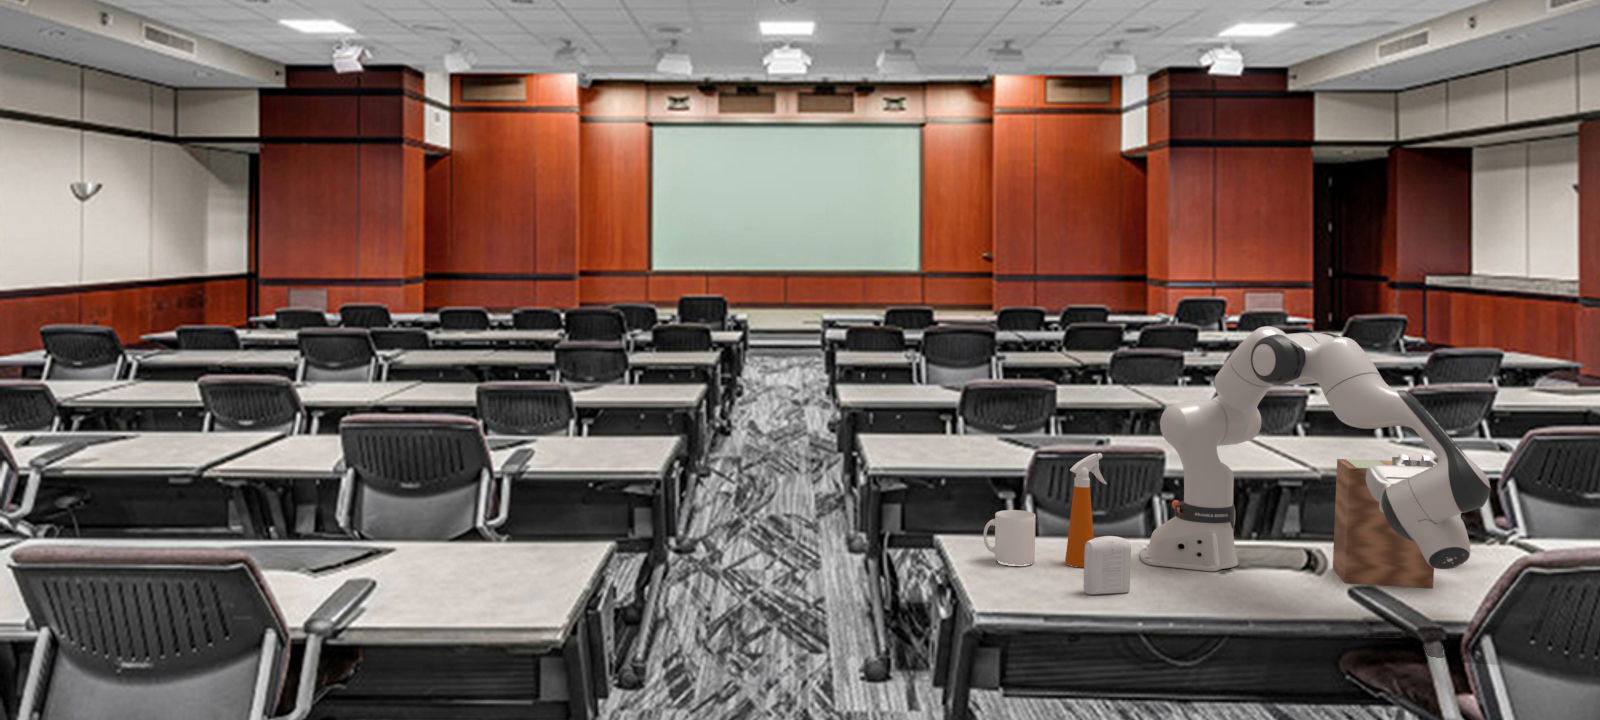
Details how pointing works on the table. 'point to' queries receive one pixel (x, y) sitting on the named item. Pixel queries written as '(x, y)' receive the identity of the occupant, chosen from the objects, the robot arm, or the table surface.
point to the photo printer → (1107, 565)
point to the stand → (1371, 538)
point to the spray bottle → (1081, 509)
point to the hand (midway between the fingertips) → (1413, 457)
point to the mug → (1013, 537)
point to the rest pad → (1363, 463)
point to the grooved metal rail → (1409, 462)
